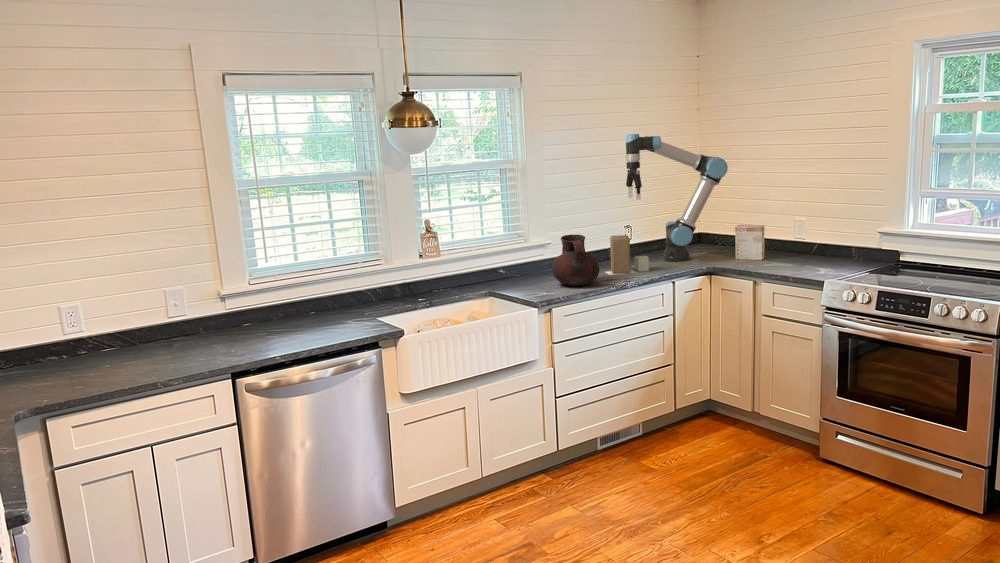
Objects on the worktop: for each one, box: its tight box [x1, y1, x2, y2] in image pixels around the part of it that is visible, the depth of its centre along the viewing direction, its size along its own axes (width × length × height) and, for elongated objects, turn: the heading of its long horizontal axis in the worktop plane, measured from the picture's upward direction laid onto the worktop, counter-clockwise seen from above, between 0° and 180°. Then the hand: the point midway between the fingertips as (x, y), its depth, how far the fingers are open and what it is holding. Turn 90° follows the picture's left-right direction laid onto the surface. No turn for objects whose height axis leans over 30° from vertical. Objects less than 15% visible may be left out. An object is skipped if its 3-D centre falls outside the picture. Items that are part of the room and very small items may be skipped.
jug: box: [551, 234, 600, 287], centre depth 385 cm, size 25×25×25 cm
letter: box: [604, 268, 639, 276], centre depth 412 cm, size 16×11×1 cm
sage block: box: [634, 255, 650, 273], centre depth 413 cm, size 6×6×8 cm
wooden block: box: [609, 234, 631, 275], centre depth 410 cm, size 10×10×20 cm
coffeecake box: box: [734, 224, 765, 261], centre depth 428 cm, size 15×7×20 cm, turn 59°
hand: (634, 199), depth 424 cm, fingers open, 13 cm apart
